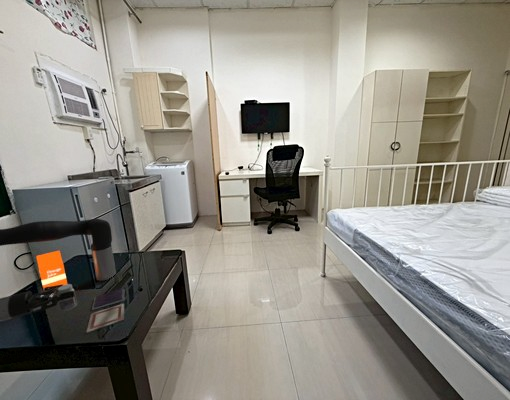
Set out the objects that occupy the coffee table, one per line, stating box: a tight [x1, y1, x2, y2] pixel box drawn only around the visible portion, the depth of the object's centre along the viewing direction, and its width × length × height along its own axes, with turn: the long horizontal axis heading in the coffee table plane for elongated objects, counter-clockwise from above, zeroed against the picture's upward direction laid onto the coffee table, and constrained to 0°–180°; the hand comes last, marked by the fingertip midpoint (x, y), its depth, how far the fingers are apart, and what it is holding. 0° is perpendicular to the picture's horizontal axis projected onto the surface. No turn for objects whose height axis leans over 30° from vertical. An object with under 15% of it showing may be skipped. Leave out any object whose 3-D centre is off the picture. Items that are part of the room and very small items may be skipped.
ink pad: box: [91, 288, 125, 311], centre depth 100 cm, size 12×10×2 cm
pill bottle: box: [58, 283, 78, 312], centre depth 81 cm, size 5×5×8 cm
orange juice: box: [36, 250, 68, 295], centre depth 109 cm, size 8×9×20 cm
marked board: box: [85, 303, 125, 334], centre depth 88 cm, size 12×12×1 cm
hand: (75, 290), depth 82 cm, fingers closed on pill bottle, 4 cm apart
